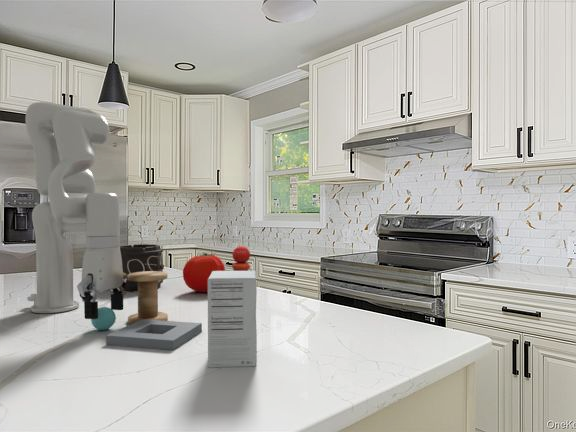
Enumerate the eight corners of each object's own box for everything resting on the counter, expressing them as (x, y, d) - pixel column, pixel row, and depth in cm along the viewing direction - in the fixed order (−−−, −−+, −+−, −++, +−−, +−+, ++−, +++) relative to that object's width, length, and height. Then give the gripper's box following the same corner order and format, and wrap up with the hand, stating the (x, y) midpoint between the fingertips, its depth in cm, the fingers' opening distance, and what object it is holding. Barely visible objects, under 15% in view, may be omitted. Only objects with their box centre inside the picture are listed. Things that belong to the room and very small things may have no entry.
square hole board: (106, 344, 94) (106, 335, 94) (142, 327, 107) (142, 319, 107) (173, 350, 90) (173, 340, 90) (201, 331, 104) (201, 323, 104)
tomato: (217, 286, 163) (217, 250, 163) (232, 293, 151) (232, 254, 151) (176, 291, 155) (176, 253, 155) (188, 297, 143) (188, 256, 143)
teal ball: (86, 332, 103) (86, 309, 103) (101, 326, 109) (100, 304, 109) (106, 333, 102) (106, 310, 102) (120, 327, 107) (120, 305, 107)
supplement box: (211, 351, 89) (211, 270, 89) (256, 350, 90) (256, 269, 90) (207, 368, 80) (206, 277, 80) (257, 366, 81) (256, 276, 80)
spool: (119, 324, 110) (119, 276, 110) (141, 315, 120) (141, 270, 120) (155, 327, 108) (154, 277, 108) (174, 317, 117) (174, 271, 117)
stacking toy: (249, 314, 120) (249, 247, 120) (222, 313, 122) (222, 247, 121) (257, 308, 128) (257, 245, 127) (231, 307, 129) (231, 244, 129)
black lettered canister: (155, 292, 152) (155, 248, 152) (104, 292, 152) (104, 248, 152) (170, 283, 170) (169, 243, 170) (124, 283, 170) (124, 244, 170)
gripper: (112, 241, 114) (113, 306, 114) (64, 246, 97) (65, 322, 97) (137, 241, 112) (138, 307, 112) (93, 246, 96) (94, 323, 96)
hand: (104, 314), depth 105 cm, fingers open, 9 cm apart
